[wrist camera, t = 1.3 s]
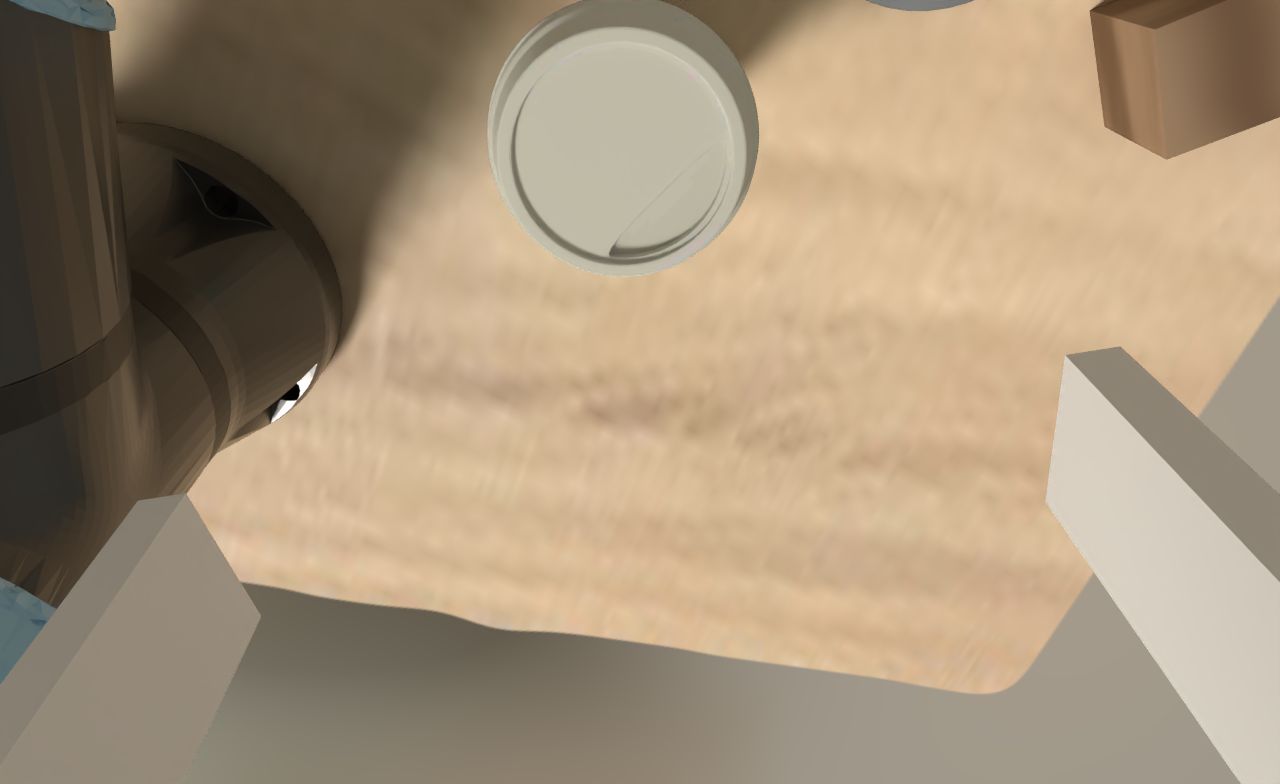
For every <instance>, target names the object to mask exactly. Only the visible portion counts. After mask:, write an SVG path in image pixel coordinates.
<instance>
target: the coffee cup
mask: <svg viewBox="0 0 1280 784" xmlns="http://www.w3.org/2000/svg"><path fill="white" fill-rule="evenodd" d="M487 140H488V152H489V159H490V164H491V169H492V173H493V176H494V179H495V182H496V185H497V188H498V190H499V192H500V195H501V197H502V199H503V201H504V203H505V205H506V206H507V208H508V210H509V211H510V213H511V214H512V216H513V217H514V218H515V220H516V221H517V222H518V224H519V225H520V226H521V227H522V228H523V229H524V230H525V232H526V233H527V234H528V235H529V236H530V237H531V238H532V239H533V240H535V241H536V242H537V243H538V244H539V245H540V246H541V247H542V248H544V249H545V250H546V251H548V252H549V253H550V254H552V255H553V256H555V257H556V258H558V259H559V260H561V261H563V262H565V263H567V264H569V265H571V266H573V267H576V268H578V269H581V270H584V271H587V272H591V273H594V274H599V275H605V276H614V277H634V276H642V275H647V274H652V273H656V272H660V271H662V270H665V269H668V268H671V267H673V266H675V265H677V264H680V263H682V262H683V261H685V260H687V259H688V258H690V257H692V256H693V255H695V254H696V253H697V252H699V251H700V250H702V249H703V248H704V247H706V246H707V245H708V244H709V243H711V242H712V241H713V240H714V239H715V238H716V237H717V236H718V235H719V234H720V233H721V232H722V231H723V230H724V229H725V227H726V226H727V225H728V224H729V223H730V221H731V220H732V219H733V217H734V216H735V214H736V213H737V211H738V209H739V208H740V206H741V204H742V202H743V200H744V198H745V196H746V194H747V191H748V189H749V186H750V183H751V180H752V177H753V173H754V169H755V164H756V159H757V153H758V143H759V124H758V115H757V108H756V104H755V99H754V96H753V92H752V89H751V86H750V84H749V81H748V79H747V76H746V74H745V72H744V70H743V68H742V66H741V65H740V63H739V61H738V60H737V58H736V56H735V55H734V54H733V52H732V51H731V49H730V48H729V47H728V46H727V44H726V43H725V42H724V41H723V40H722V39H721V38H720V37H719V36H718V35H717V34H716V33H715V32H714V31H713V30H712V29H711V28H710V27H709V26H707V25H706V24H705V23H704V22H702V21H701V20H699V19H698V18H697V17H695V16H693V15H692V14H690V13H688V12H687V11H685V10H683V9H681V8H679V7H677V6H674V5H672V4H669V3H667V2H664V1H660V0H583V1H579V2H577V3H574V4H571V5H569V6H567V7H564V8H562V9H560V10H559V11H557V12H555V13H553V14H552V15H550V16H548V17H547V18H545V19H544V20H543V21H541V22H540V23H539V24H537V25H536V26H535V27H534V28H533V29H532V30H531V31H529V32H528V33H527V34H526V35H525V36H524V38H523V39H522V40H521V41H520V42H519V43H518V44H517V46H516V47H515V48H514V50H513V51H512V52H511V54H510V55H509V57H508V59H507V60H506V62H505V64H504V66H503V67H502V69H501V72H500V74H499V76H498V78H497V81H496V84H495V86H494V89H493V93H492V97H491V101H490V106H489V112H488V122H487Z"/></svg>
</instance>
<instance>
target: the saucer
mask: <svg viewBox="0 0 1280 784" xmlns="http://www.w3.org/2000/svg"><path fill="white" fill-rule="evenodd" d="M867 1H869V2H872V3H875V4H878V5H881V6H884V7H887V8H893V9H899V10H906V11H930V10H938V9H945V8H950V7H954V6H958V5H961V4H965V3H968V2H971V1H973V0H867Z"/></svg>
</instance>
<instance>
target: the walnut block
mask: <svg viewBox="0 0 1280 784" xmlns="http://www.w3.org/2000/svg"><path fill="white" fill-rule="evenodd" d="M1090 17H1091V24H1092V32H1093V40H1094V48H1095V55H1096V63H1097V71H1098V79H1099V87H1100V94H1101V102H1102V110H1103V118H1104V125H1105V127H1106V128H1108V129H1110V130H1112V131H1114V132H1116V133H1118V134H1119V135H1121V136H1123V137H1125V138H1127V139H1129V140H1131V141H1133V142H1134V143H1136V144H1138V145H1140V146H1142V147H1144V148H1146V149H1148V150H1150V151H1151V152H1153V153H1155V154H1157V155H1159V156H1161V157H1163V158H1165V159H1170V158H1172V157H1175V156H1178V155H1180V154H1183V153H1186V152H1188V151H1191V150H1194V149H1196V148H1199V147H1202V146H1204V145H1207V144H1209V143H1212V142H1215V141H1217V140H1220V139H1223V138H1225V137H1228V136H1231V135H1233V134H1236V133H1239V132H1241V131H1244V130H1247V129H1249V128H1252V127H1255V126H1257V125H1260V124H1263V123H1265V122H1268V121H1271V120H1273V119H1276V118H1278V117H1280V0H1114V1H1112V2H1109V3H1107V4H1105V5H1102V6H1100V7H1097V8H1095V9H1093V10H1090Z"/></svg>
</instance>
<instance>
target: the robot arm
mask: <svg viewBox="0 0 1280 784" xmlns="http://www.w3.org/2000/svg"><path fill="white" fill-rule="evenodd" d="M115 25H116V19H115V14H114V10H113V7H112V6H111V5H110V4H109V3H108V2H107V1H106V0H0V784H183V783H184V781H185V778H186V776H187V774H188V772H189V770H190V768H191V765H192V763H193V761H194V759H195V757H196V754H197V753H198V750H199V748H200V746H201V744H202V742H203V740H204V738H205V736H206V733H207V731H208V729H209V727H210V725H211V723H212V721H213V718H214V716H215V714H216V712H217V710H218V708H219V706H220V703H221V701H222V699H223V697H224V695H225V693H226V691H227V688H228V686H229V684H230V682H231V680H232V678H233V676H234V674H235V671H236V669H237V667H238V665H239V663H240V661H241V659H242V656H243V654H244V652H245V650H246V648H247V646H248V643H249V641H250V639H251V637H252V635H253V633H254V631H255V629H256V626H257V624H258V622H259V620H260V618H261V616H260V614H259V612H258V611H257V609H256V607H255V606H254V604H253V602H252V601H251V599H250V598H249V596H248V594H247V593H246V591H245V589H244V588H243V586H242V584H241V583H240V581H239V579H238V578H237V576H236V575H235V573H234V571H233V570H232V568H231V566H230V565H229V563H228V561H227V560H226V558H225V557H224V555H223V553H222V552H221V550H220V548H219V547H218V545H217V543H216V542H215V540H214V539H213V537H212V535H211V534H210V532H209V530H208V529H207V527H206V525H205V524H204V522H203V520H202V519H201V517H200V516H199V514H198V512H197V511H196V509H195V507H194V506H193V504H192V502H191V501H190V499H189V498H188V496H187V492H188V491H189V490H190V488H191V487H192V485H193V484H194V483H195V481H196V480H197V479H198V477H199V476H200V474H201V473H202V471H203V470H204V468H205V467H206V466H207V464H208V463H209V462H210V460H211V459H212V458H213V456H214V455H215V454H216V453H218V452H220V451H222V450H223V449H225V448H227V447H229V446H231V445H232V444H234V443H236V442H238V441H240V440H241V439H243V438H245V437H247V436H249V435H251V434H252V433H254V432H256V431H258V430H260V429H261V428H263V427H265V426H267V425H269V424H271V423H272V422H274V421H276V420H277V419H279V418H281V417H282V416H284V415H285V414H286V413H288V412H289V411H290V410H291V409H293V408H294V407H295V406H296V405H297V404H298V403H299V402H300V401H301V400H302V399H303V398H304V397H305V396H306V395H307V394H308V392H309V391H310V390H311V389H312V387H313V386H314V384H315V383H316V381H317V379H318V378H319V376H320V375H321V373H322V372H323V370H324V369H325V367H326V366H327V364H328V363H329V361H330V359H331V357H332V355H333V353H334V350H335V348H336V345H337V341H338V338H339V333H340V328H341V319H342V303H341V293H340V287H339V282H338V278H337V274H336V271H335V268H334V265H333V262H332V260H331V257H330V255H329V253H328V250H327V248H326V246H325V244H324V242H323V240H322V239H321V237H320V235H319V233H318V232H317V230H316V229H315V227H314V226H313V224H312V223H311V221H310V220H309V218H308V217H307V216H306V214H305V213H304V212H303V210H302V209H301V208H300V207H299V206H298V204H297V203H296V202H295V201H294V200H293V199H292V198H291V197H290V196H289V195H288V194H287V193H286V192H285V190H284V189H282V188H281V187H280V186H279V185H278V184H277V183H276V182H275V181H274V180H273V179H271V178H270V177H269V176H268V175H266V174H265V173H264V172H263V171H261V170H260V169H259V168H257V167H256V166H255V165H253V164H252V163H250V162H249V161H247V160H246V159H244V158H242V157H241V156H239V155H238V154H236V153H234V152H232V151H231V150H229V149H227V148H225V147H223V146H221V145H219V144H217V143H215V142H213V141H210V140H208V139H205V138H203V137H200V136H198V135H195V134H192V133H189V132H186V131H182V130H178V129H174V128H170V127H165V126H160V125H153V124H144V123H116V114H115V101H114V87H113V74H112V61H111V48H110V35H109V31H113V30H116V29H115ZM1046 503H1047V505H1048V506H1049V508H1050V509H1051V511H1052V512H1053V514H1054V515H1055V516H1056V518H1057V519H1058V521H1059V522H1060V524H1061V525H1062V526H1063V528H1064V529H1065V531H1066V532H1067V534H1068V535H1069V537H1070V538H1071V539H1072V541H1073V542H1074V544H1075V545H1076V547H1077V548H1078V550H1079V551H1080V552H1081V554H1082V555H1083V557H1084V558H1085V560H1086V561H1087V563H1088V564H1089V565H1090V567H1091V568H1092V570H1093V571H1094V573H1095V574H1096V576H1097V577H1098V578H1099V580H1100V581H1101V583H1102V584H1103V586H1104V587H1105V589H1106V590H1107V591H1108V593H1109V594H1110V596H1111V597H1112V598H1113V600H1114V601H1115V603H1116V604H1117V606H1118V607H1119V609H1120V610H1121V612H1122V613H1123V614H1124V616H1125V617H1126V619H1127V620H1128V622H1129V623H1130V625H1131V626H1132V627H1133V629H1134V630H1135V632H1136V633H1137V635H1138V636H1139V638H1140V639H1141V640H1142V642H1143V643H1144V645H1145V646H1146V648H1147V649H1148V651H1149V652H1150V653H1151V655H1152V656H1153V658H1154V659H1155V661H1156V662H1157V663H1158V665H1159V666H1160V668H1161V669H1162V671H1163V672H1164V674H1165V675H1166V676H1167V678H1168V679H1169V681H1170V682H1171V684H1172V685H1173V687H1174V688H1175V690H1176V691H1177V692H1178V694H1179V695H1180V697H1181V698H1182V700H1183V701H1184V702H1185V704H1186V705H1187V707H1188V708H1189V710H1190V711H1191V713H1192V714H1193V715H1194V717H1195V718H1196V720H1197V721H1198V723H1199V724H1200V725H1201V727H1202V728H1203V730H1204V731H1205V733H1206V734H1207V735H1208V737H1209V738H1210V740H1211V741H1212V743H1213V744H1214V746H1215V747H1216V749H1217V750H1218V751H1219V753H1220V754H1221V756H1222V757H1223V759H1224V760H1225V762H1226V763H1227V765H1228V766H1229V767H1230V769H1231V770H1232V772H1233V773H1234V775H1235V776H1236V777H1237V779H1238V780H1239V782H1240V783H1241V784H1280V494H1279V493H1278V492H1277V491H1276V490H1274V489H1273V488H1272V487H1271V486H1270V485H1269V484H1268V483H1267V482H1266V481H1265V480H1264V479H1263V478H1261V477H1260V476H1259V475H1258V474H1257V473H1256V472H1255V471H1254V470H1253V469H1252V468H1251V467H1250V466H1249V465H1248V464H1246V463H1245V462H1244V461H1243V460H1242V459H1241V458H1240V457H1239V456H1238V455H1237V454H1236V453H1234V452H1233V451H1232V450H1231V449H1230V448H1229V447H1228V446H1227V445H1226V444H1225V443H1224V442H1223V441H1222V440H1221V439H1220V438H1218V437H1217V436H1216V435H1215V434H1214V433H1213V432H1212V431H1211V430H1210V429H1209V428H1208V427H1207V426H1205V425H1204V424H1203V423H1202V422H1201V421H1200V420H1199V419H1198V418H1197V417H1196V416H1195V415H1194V414H1193V413H1191V412H1190V411H1189V410H1188V409H1187V408H1186V407H1185V406H1184V405H1183V404H1182V403H1181V402H1180V401H1179V400H1177V399H1176V398H1175V397H1174V396H1173V395H1172V394H1171V393H1170V392H1169V391H1168V390H1167V389H1166V388H1165V387H1163V386H1162V385H1161V384H1160V383H1159V382H1158V381H1157V380H1156V379H1155V378H1154V377H1153V376H1152V375H1151V374H1149V373H1148V372H1147V371H1146V370H1145V369H1144V368H1143V367H1142V366H1141V365H1140V364H1139V363H1138V362H1137V361H1135V360H1134V359H1133V358H1132V357H1131V356H1130V355H1129V354H1128V353H1127V352H1126V351H1125V350H1124V349H1122V348H1121V347H1115V348H1108V349H1102V350H1095V351H1089V352H1083V353H1076V354H1070V355H1065V361H1064V368H1063V376H1062V383H1061V391H1060V398H1059V405H1058V413H1057V420H1056V428H1055V435H1054V443H1053V450H1052V458H1051V465H1050V473H1049V480H1048V488H1047V495H1046Z"/></svg>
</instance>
